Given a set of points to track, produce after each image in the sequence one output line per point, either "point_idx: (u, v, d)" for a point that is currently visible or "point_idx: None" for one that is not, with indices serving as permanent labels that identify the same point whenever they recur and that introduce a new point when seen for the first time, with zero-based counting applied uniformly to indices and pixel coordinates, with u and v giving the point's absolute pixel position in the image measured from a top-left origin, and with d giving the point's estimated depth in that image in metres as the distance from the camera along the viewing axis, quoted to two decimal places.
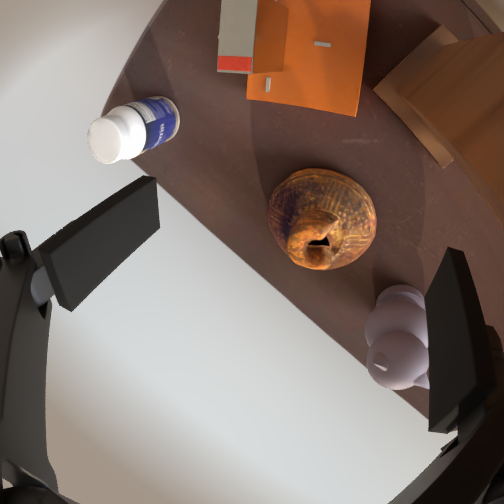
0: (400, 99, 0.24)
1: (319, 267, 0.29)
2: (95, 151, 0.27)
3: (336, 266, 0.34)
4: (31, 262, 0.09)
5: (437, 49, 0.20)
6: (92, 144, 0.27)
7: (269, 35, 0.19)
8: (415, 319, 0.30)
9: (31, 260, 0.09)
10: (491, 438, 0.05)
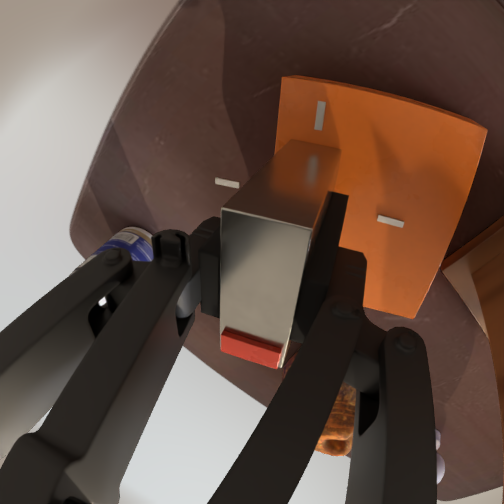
0: (473, 284, 0.17)
1: (338, 455, 0.22)
2: None
3: None
4: (187, 273, 0.09)
5: None
6: None
7: None
8: None
9: (187, 271, 0.09)
10: (327, 338, 0.07)
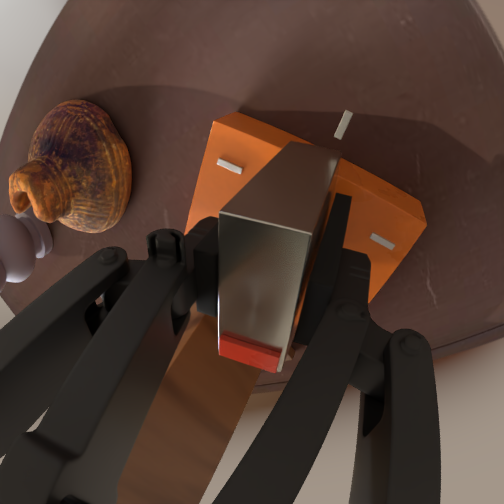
0: None
1: None
2: None
3: None
4: (182, 272, 0.09)
5: None
6: None
7: (313, 263, 0.12)
8: (18, 273, 0.28)
9: (183, 270, 0.09)
10: (332, 340, 0.07)
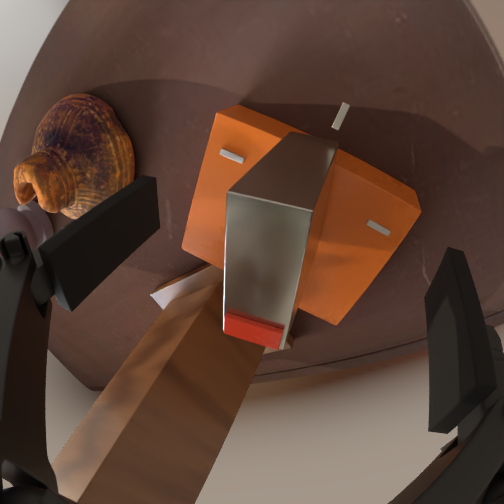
0: (211, 282, 0.26)
1: (17, 198, 0.20)
2: None
3: None
4: (31, 262, 0.09)
5: None
6: None
7: (313, 245, 0.13)
8: None
9: (31, 260, 0.09)
10: (491, 438, 0.05)
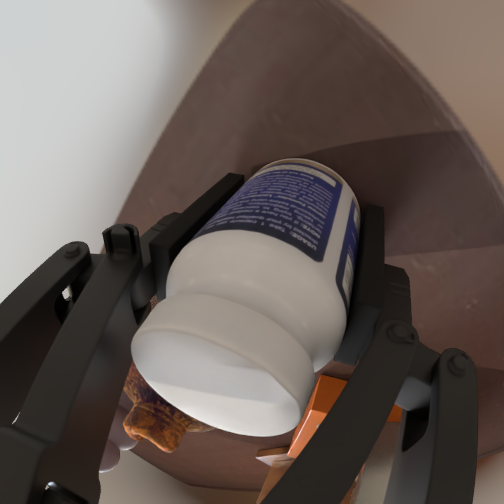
0: None
1: None
2: (163, 351, 0.07)
3: None
4: (138, 263, 0.09)
5: None
6: (189, 351, 0.06)
7: None
8: (130, 447, 0.33)
9: (138, 261, 0.09)
10: (381, 361, 0.07)
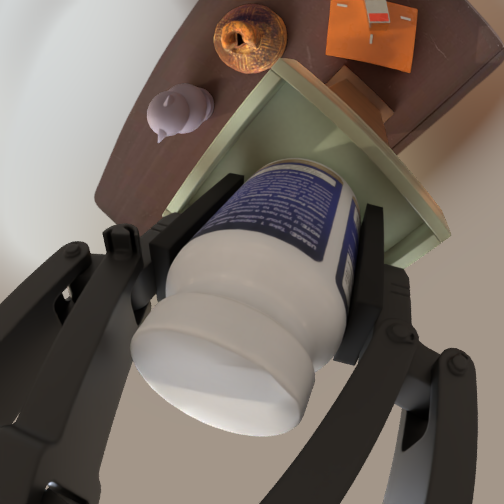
0: (340, 81, 0.40)
1: (224, 42, 0.37)
2: (163, 351, 0.07)
3: (220, 53, 0.42)
4: (138, 263, 0.09)
5: (376, 107, 0.41)
6: (188, 351, 0.06)
7: None
8: (198, 114, 0.46)
9: (139, 261, 0.09)
10: (381, 361, 0.07)
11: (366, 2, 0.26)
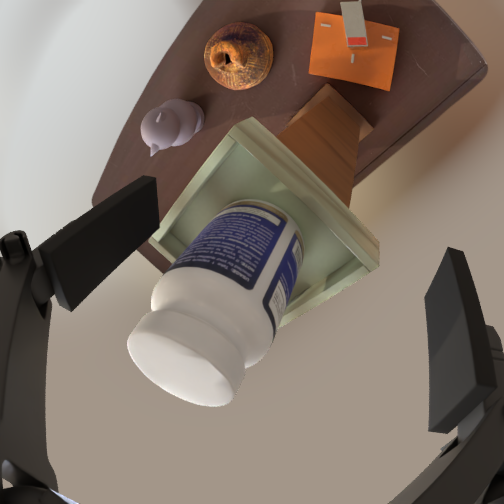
0: (323, 98, 0.44)
1: (212, 62, 0.40)
2: (147, 345, 0.11)
3: (210, 70, 0.45)
4: (31, 262, 0.09)
5: (357, 123, 0.45)
6: (162, 346, 0.11)
7: None
8: (188, 129, 0.49)
9: (31, 260, 0.09)
10: (491, 438, 0.05)
11: (345, 26, 0.29)
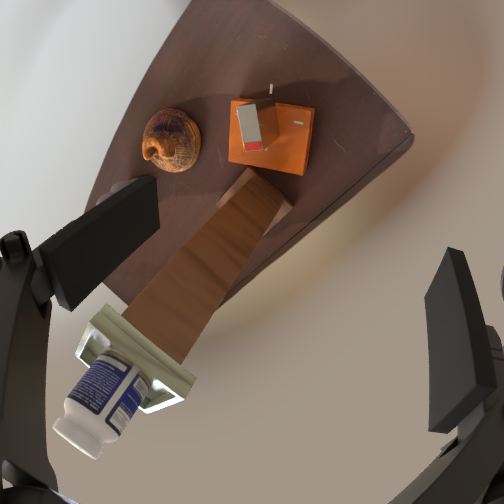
0: (245, 181, 0.53)
1: (144, 156, 0.49)
2: (58, 432, 0.20)
3: None
4: (31, 262, 0.09)
5: (277, 203, 0.53)
6: (62, 434, 0.19)
7: (266, 123, 0.39)
8: None
9: (31, 260, 0.09)
10: (491, 438, 0.05)
11: (242, 131, 0.38)
